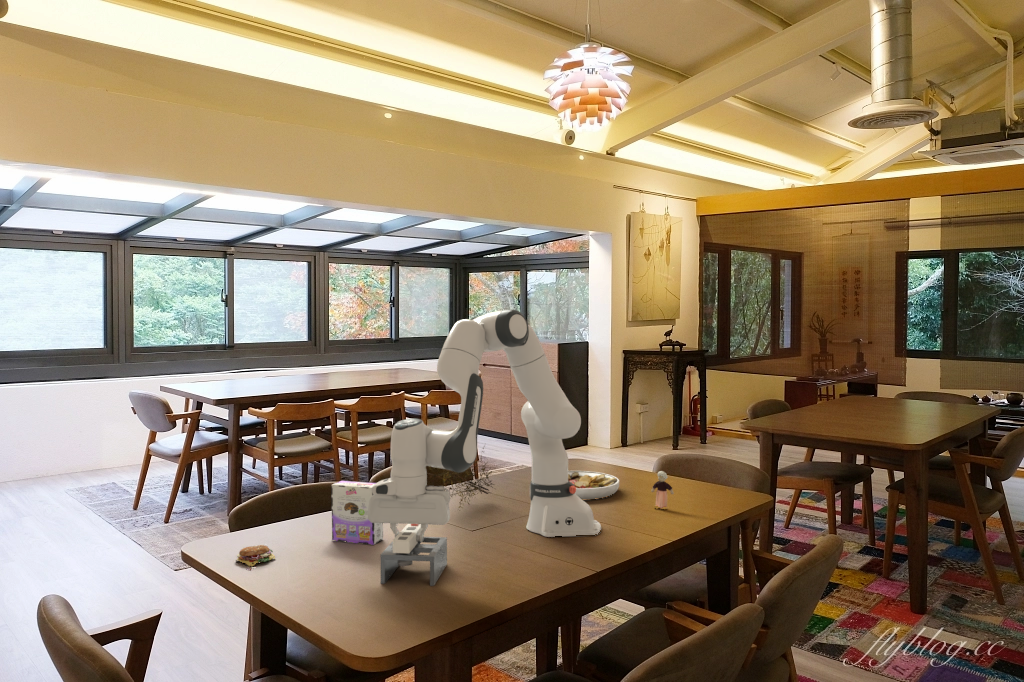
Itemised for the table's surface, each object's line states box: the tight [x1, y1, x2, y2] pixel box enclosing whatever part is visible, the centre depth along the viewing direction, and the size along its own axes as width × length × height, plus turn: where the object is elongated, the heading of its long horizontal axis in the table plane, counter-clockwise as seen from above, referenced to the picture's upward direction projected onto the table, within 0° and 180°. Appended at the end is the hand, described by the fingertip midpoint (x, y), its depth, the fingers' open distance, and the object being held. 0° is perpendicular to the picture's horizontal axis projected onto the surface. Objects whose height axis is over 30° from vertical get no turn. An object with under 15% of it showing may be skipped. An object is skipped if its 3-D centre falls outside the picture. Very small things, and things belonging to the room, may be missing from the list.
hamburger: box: [235, 544, 276, 570], centre depth 184 cm, size 14×14×6 cm
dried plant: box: [427, 444, 496, 511], centre depth 228 cm, size 30×31×45 cm
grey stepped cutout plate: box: [380, 536, 448, 587], centre depth 176 cm, size 13×15×7 cm
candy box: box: [330, 480, 384, 546], centre depth 202 cm, size 14×6×16 cm, turn 71°
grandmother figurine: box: [650, 470, 675, 509], centre depth 236 cm, size 8×4×13 cm, turn 68°
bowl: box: [568, 470, 620, 499], centre depth 260 cm, size 30×30×8 cm
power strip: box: [392, 524, 423, 567], centre depth 176 cm, size 4×15×7 cm, turn 174°
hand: (409, 540), depth 176 cm, fingers closed on power strip, 4 cm apart
